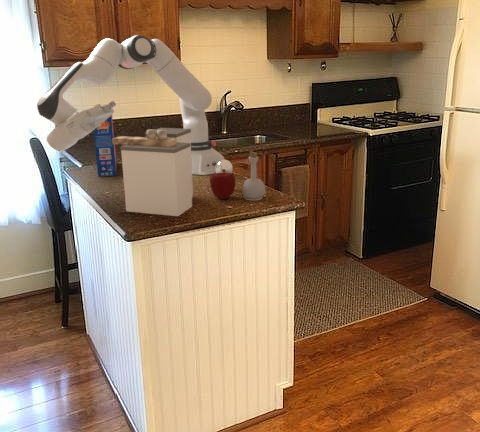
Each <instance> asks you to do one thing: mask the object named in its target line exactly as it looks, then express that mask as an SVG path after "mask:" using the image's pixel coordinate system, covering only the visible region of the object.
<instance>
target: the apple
mask: <svg viewBox="0 0 480 432" xmlns="http://www.w3.org/2000/svg"><path fill="white" fill-rule="evenodd" d="M209 186H210V189H211V192H212V193H213V195H214V196H215V197H216V199H219V200H227V199H229V198H230V197H231V196H232V195H233V194H234V191H235V188H236V178H235V175H234V174H233V173H227V172H223V173H213V174H211V177H210V181H209Z"/></svg>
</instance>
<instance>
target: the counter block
mask: <svg viewBox="0 0 480 432" xmlns="http://www.w3.org/2000/svg"><path fill="white" fill-rule="evenodd" d="M154 129H155V130H156V137H157V130H167V138H170V139H176V145H174V146H171V147H163V146H143V145H124V144H122V145H121V146H119V149H120V153H121V164H122V174H123V175H122V176H123V186H124V187H123V188H124V200H125V201H124V202H125V212H131V213H141V214H150V215H160V216H161V215H162V216H170V217H172V216H173V217H179V216H180V215H182V214H184V213H185V212H186V211H188V210H189V209H191V208H192V207H193V198H194V187H193V186H194V185H193V174H192V160H191V136H190V132H191V129H184V128H179V127H178V128H177V127H176V128H175V127H158V128H154ZM144 137H147V131H146V132H144Z"/></svg>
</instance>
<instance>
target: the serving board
mask: <svg viewBox="0 0 480 432" xmlns="http://www.w3.org/2000/svg"><path fill="white" fill-rule="evenodd" d="M155 129H156V128H154V129H146V132H147V137H146V136H144V137H142V136H126V135H118V136H116V137H115V136H114V138H112V143H113V144H115V145H143V146H163V147H171V146H174V145H176V139H170V138H167V130H157V137H156V130H155Z"/></svg>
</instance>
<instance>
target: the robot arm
mask: <svg viewBox="0 0 480 432" xmlns="http://www.w3.org/2000/svg"><path fill="white" fill-rule="evenodd" d="M143 63H146V64H148V65H149V66H150V67H151V68H152V69H153V70H154V72H155V73H156V74H157V75H158V76H159V78H161V80H162V82H164V84H165V85H167V87H168V88H170V89H171V90H172V91H173V92H174V93H175V94H176V95H177V96H178V100H179V107H180V114H181V118H182V126H183V128H182V129H191V132H190V136H191V160H192V175H199V176H207V175H213V174H216V170H215V167H216V164H217V163H218V162H219V161H220V160H226V159H225V156H223V155H222V154H221V153H220V152H218V151H217V150H216V149H214V148H213V147H216V145H217V143H216V141H212V140H209V124H208V120H207V115H206V110H207V109H208V108H209V107H210V106H211V104H212V102H213V99H212V94H211V92H210V91H209V90H208V89H207V88H206V86H204V85H203V83H202V82H201V81H199V79H198V78H197V77H196V76H195V75H194V74H192V72H190V70H189V69H188V68H187V67H186V66H185V64H184V63H183V62H182V61H181V60H180V59H179V58H178V56H177V55H176V54H175V53H174V52H173V51H172V50H171V49H170V48H169V46H167V45H166V43H164V42H163V41H162V40H160V39H159V38H153V39H150V38H148V37H147V36H145V35H142V34H136V35H133V36H131V37H129V38H127V39H125V40H124V41H122V42H121V43H119V42H118V41H116V40H115V39H112V38H108V37H107V38H104V39H102V40H101V41H100V42H99V43H98V44H97V46H95V48H94V49H93V51H92V52H91V53H90V55H89V57H88V58H86V60H84V61H78V62H76V63H74V64H73V65H70V67H69V68H68V69H67V70H66V71H65V72H64V73H63V74H62V75H61V77H60V78H59V79H58V80H56V82H55V83H54V84H53V86H51V88H49V89H48V90H47V91H46V92H45V93H44V94H43V95H41V97H40V98H39V99H38V101H37V104H36V107H37V111H38V112H37V113H38V114H39V116H41V117H43V118H45V119H46V120H47V121H50V122H51V123H53V124H54V125H55V126H56V127H55V128H54V129H52V130H51V131H50V132H49V134H48V135H47V136H46V142H47V143H48V145H49V146H50V147H51V148H52V149H54V150H56V151H57V152H62V151H65V150H67V149H69V148H71V147H72V146H74V145H75V144H77V142H78V141H79V140H81V139H83V138H85V137H87V136H88V135H89V134H91V133H92V132H94V130H95V129H97V128H98V127H100V126H101V123H103V122H104V121H105V120H107V119H108V118H109V117H110V116H111V115H112V116H113V115H114V113H115V110H114V107H116V105H117V103H116V101H114V100H112V101H110V102H109V103H107V104H104V105H101V104H99V103H98V104H95V105H94V106H92V107H90V108H86V109H81V110H79V109H78V108H77V107H75V106H74V105H73V104H71V103H70V102H69V101H67V100H66V99H65V98H64V97H63V95H64V94H65V93H66V91H68V89H69V88H71V86H72V85H73V84H74V83H75V82H76V81H80V82H84V83H87V84H91V85H96V86H101V85H105V84H107V83H108V82H109V81H110V80H111V79H112V77H113V75H114V74H115V72H116V70H117V68H118V67H119V68H120V69H125V70H131V69H132V70H133V69H135V68H137V67H140V66H141V65H143Z"/></svg>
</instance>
